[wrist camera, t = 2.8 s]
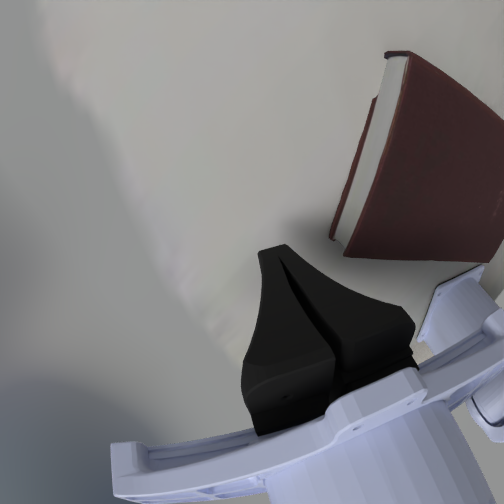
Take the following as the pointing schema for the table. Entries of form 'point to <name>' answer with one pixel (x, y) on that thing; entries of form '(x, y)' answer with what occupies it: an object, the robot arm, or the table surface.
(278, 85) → the table surface
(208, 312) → the table surface
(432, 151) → the book
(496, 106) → the table surface
